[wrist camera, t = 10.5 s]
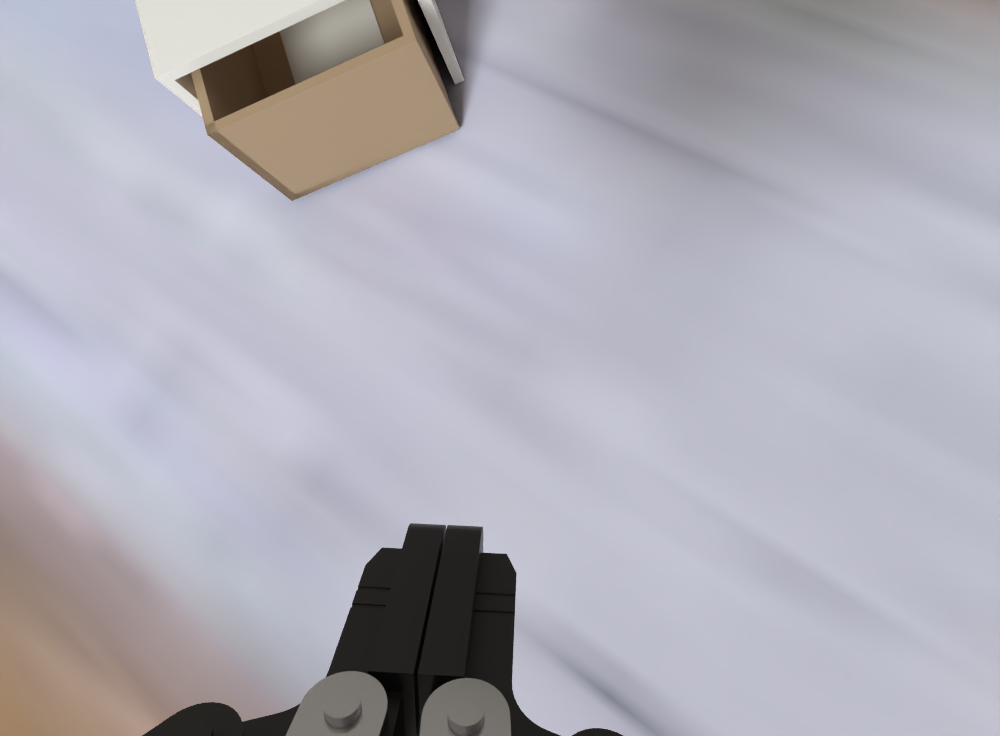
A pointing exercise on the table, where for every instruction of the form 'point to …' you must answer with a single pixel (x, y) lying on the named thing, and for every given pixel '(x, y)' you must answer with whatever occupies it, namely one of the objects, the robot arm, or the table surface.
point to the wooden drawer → (328, 95)
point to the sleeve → (235, 33)
